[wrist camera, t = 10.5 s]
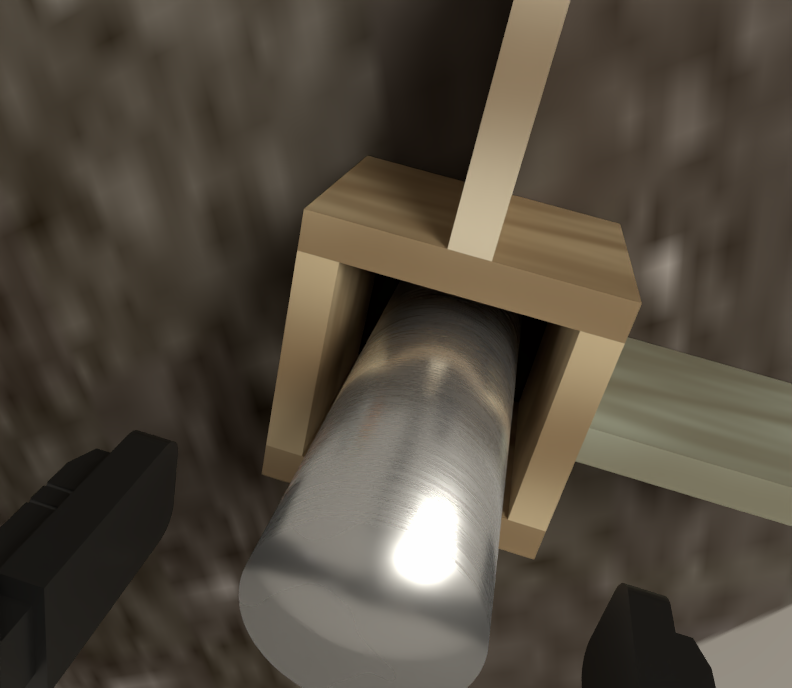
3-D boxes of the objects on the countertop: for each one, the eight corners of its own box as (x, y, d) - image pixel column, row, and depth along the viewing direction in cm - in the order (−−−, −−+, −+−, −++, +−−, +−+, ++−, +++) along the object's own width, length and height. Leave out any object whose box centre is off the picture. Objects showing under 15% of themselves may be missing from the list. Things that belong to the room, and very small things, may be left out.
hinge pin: (412, 228, 22) (254, 488, 10) (539, 264, 21) (522, 572, 10) (385, 341, 24) (226, 666, 12) (502, 375, 23) (451, 741, 12)
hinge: (430, -168, 17) (375, -239, 12) (1095, -15, 16) (1357, -19, 11) (325, 371, 25) (261, 474, 19) (776, 505, 23) (840, 655, 18)
